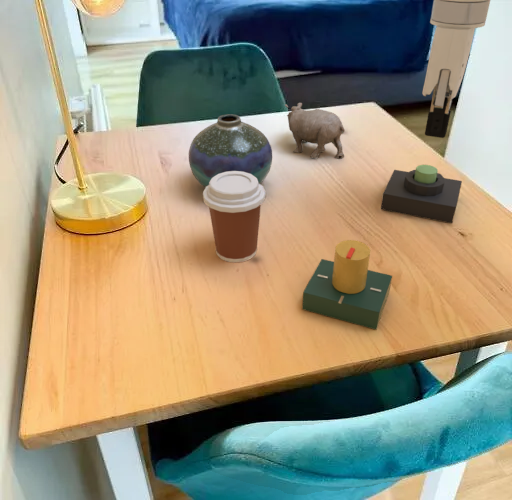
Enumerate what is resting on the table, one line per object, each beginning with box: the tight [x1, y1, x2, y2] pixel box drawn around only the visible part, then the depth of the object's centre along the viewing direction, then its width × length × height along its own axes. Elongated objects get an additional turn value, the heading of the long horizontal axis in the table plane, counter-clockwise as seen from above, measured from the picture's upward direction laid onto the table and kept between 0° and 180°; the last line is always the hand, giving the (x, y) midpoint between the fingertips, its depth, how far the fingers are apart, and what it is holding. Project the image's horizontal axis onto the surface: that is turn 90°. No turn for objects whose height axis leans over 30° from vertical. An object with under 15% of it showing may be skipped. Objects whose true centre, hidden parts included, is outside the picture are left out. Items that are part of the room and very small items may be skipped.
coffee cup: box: [202, 171, 267, 264], centre depth 76 cm, size 9×9×12 cm
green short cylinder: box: [414, 164, 439, 184], centre depth 87 cm, size 4×4×2 cm
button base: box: [380, 169, 463, 224], centre depth 89 cm, size 12×10×5 cm
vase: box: [188, 113, 273, 189], centre depth 93 cm, size 15×15×13 cm
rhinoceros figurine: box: [284, 102, 346, 160], centre depth 107 cm, size 8×14×15 cm
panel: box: [301, 258, 393, 331], centre depth 68 cm, size 10×9×3 cm
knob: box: [332, 239, 371, 294], centre depth 66 cm, size 4×4×6 cm
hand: (435, 134), depth 83 cm, fingers closed
